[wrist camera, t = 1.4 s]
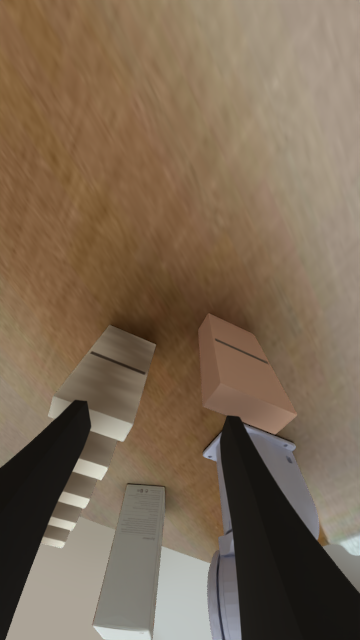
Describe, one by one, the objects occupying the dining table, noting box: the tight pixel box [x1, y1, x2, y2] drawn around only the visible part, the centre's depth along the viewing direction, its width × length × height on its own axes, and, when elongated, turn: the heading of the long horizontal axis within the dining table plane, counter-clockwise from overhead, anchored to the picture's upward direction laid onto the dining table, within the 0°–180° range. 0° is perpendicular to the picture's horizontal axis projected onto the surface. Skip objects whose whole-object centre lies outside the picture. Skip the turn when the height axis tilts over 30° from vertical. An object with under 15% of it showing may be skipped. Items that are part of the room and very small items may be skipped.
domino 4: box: [48, 501, 82, 531], centre depth 24 cm, size 5×2×9 cm, turn 64°
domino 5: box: [41, 525, 70, 548], centre depth 26 cm, size 5×2×9 cm, turn 64°
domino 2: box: [72, 431, 118, 480], centre depth 19 cm, size 5×2×9 cm, turn 64°
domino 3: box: [58, 472, 97, 509], centre depth 21 cm, size 5×2×9 cm, turn 64°
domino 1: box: [48, 325, 156, 442], centre depth 17 cm, size 5×2×9 cm, turn 64°
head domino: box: [198, 313, 297, 434], centre depth 16 cm, size 5×2×9 cm, turn 64°
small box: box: [92, 484, 165, 640], centre depth 29 cm, size 8×6×13 cm
